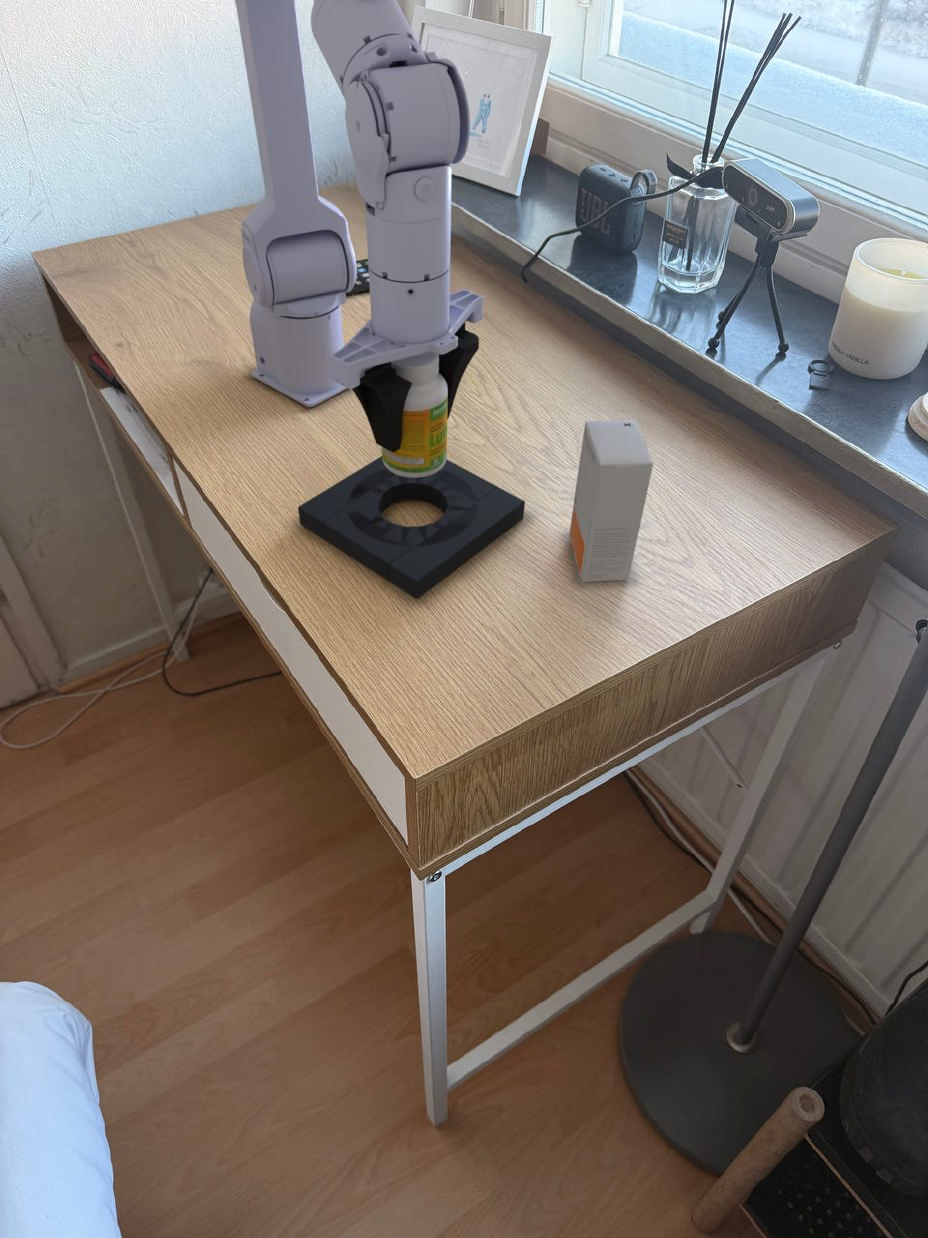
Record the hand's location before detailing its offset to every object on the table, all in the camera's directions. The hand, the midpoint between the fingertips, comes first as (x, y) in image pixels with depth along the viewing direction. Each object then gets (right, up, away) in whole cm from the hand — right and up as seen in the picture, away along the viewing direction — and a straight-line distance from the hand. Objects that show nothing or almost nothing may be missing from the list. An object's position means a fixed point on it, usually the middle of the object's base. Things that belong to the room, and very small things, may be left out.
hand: (412, 430), depth 70 cm
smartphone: (-12, +27, +39) cm, 49 cm away
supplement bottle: (0, -2, +2) cm, 3 cm away
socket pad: (0, -7, +6) cm, 9 cm away
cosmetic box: (+16, -10, +4) cm, 19 cm away
